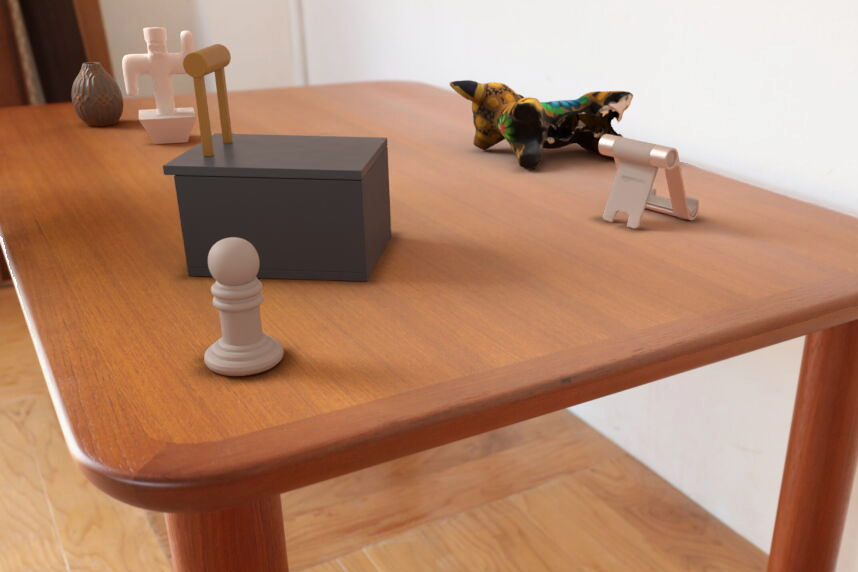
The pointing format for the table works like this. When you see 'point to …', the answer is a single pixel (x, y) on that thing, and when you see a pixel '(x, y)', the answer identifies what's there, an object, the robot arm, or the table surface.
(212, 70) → the lid
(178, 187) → the chest
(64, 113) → the table surface
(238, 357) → the chess piece
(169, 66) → the figurine
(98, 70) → the vase
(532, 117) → the dog figurine
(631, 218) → the tablet stand
